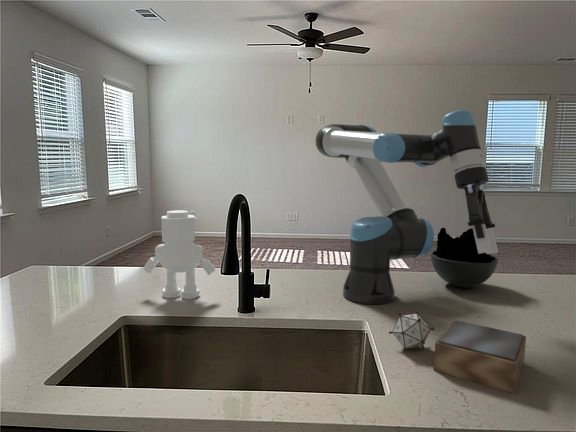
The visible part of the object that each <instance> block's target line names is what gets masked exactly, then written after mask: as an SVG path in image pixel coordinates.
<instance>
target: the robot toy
mask: <svg viewBox="0 0 576 432" xmlns="http://www.w3.org/2000/svg"><path fill="white" fill-rule="evenodd" d="M198 225H199V219H198V217H197V216H195V214H194V215H193V214H189V210H183V209H181V210H179V209H178V210H174V209H173V210H167V211H166V215H162V216H161V242H162V243H160V244H157V245H156V247H155V248H154V252H155V255H154V256H152V257H151V256H150V258H149V259H148V260H147V262H146V263H145V264H144V267H143V271H145V273H148V274H151V273H152V272H153V270H154V269H155V268H156V266H158V263H159V264H160V265H161V267H162V268H163V269H165V270H166V283H165V286H164V288H162V297H163V298H165V299H175V298H179V297H180V296H181V297H180V298H182V299H185V300H192V298H194V299H197V298H199V297H200V296H199V295H200V288H198V286H197V284H196V278H195V275H196V273H195V270H196V268H197V267H198V266H199V264H200V266H201V267H202V269H203V270H204V271H205V272H206V274H207V275H208V276H210V275H211V274H212V273H214V272H215V271H216V268H215V266H214V265H213V263H212V262H211V261H210V260H209V259H208V258H206V259H205V258H204V256H203V253H204V249H203V247H202V246H201V245H200V244H198V243H194V241H196V234H195V232H196V230H195V228H196V226H198ZM177 273H185V284H184V286H183V288H182V289H181V287H179V286H178V285H179V284H178V282H177V275H176V274H177ZM198 296H199V297H198ZM196 297H197V298H196Z"/></svg>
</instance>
